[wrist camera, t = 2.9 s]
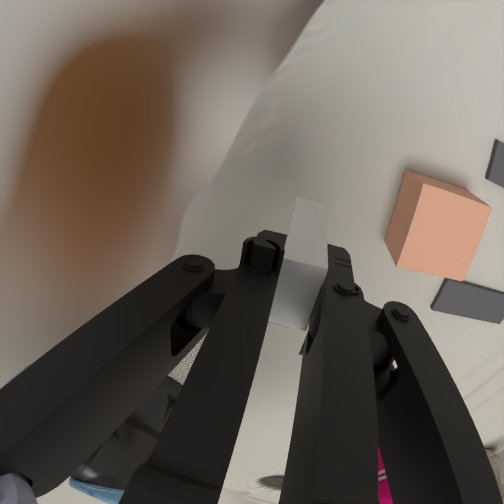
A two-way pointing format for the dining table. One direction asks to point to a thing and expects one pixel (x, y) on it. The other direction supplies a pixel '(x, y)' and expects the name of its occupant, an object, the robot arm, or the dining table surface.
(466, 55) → the dining table surface
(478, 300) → the mats
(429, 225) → the terracotta block
